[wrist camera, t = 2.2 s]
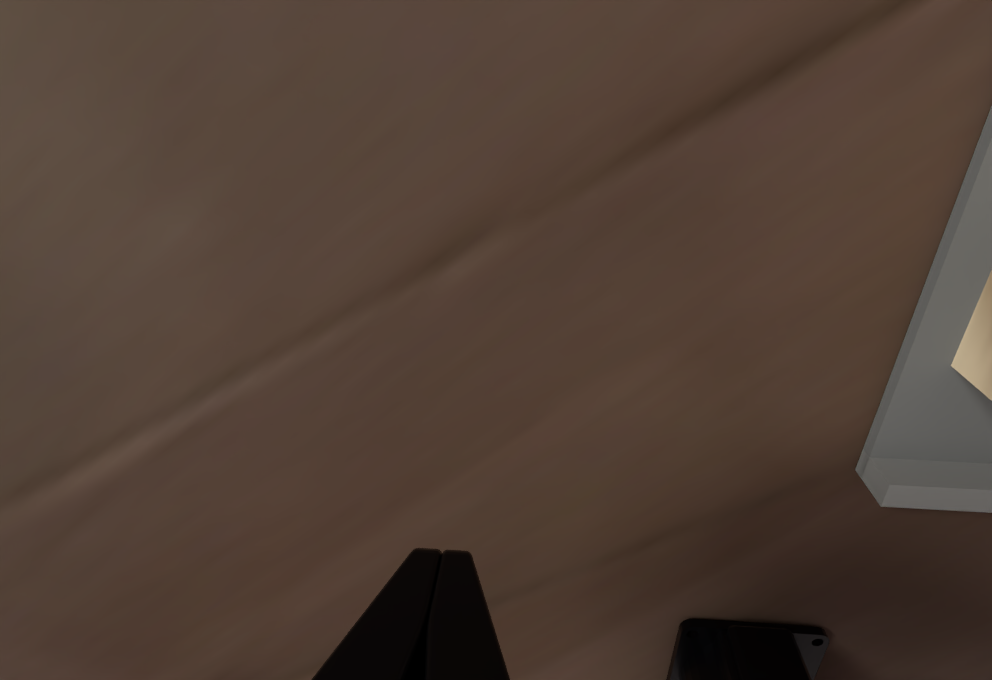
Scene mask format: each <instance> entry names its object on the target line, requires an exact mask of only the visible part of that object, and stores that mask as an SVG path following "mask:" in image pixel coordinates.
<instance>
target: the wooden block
mask: <svg viewBox="0 0 992 680" xmlns="http://www.w3.org/2000/svg"><path fill="white" fill-rule="evenodd" d="M951 366H952V367H953V368H954V369H955V370H956V371H958V372H959V373H960V374H961V375H962V376H963V377H965V378H966V379H967V380H968V381H969V382H970V383H972V384H973V385H974V386H975V387H976V388H977V389H979V390H980V391H981V392H982V393H983V394H984V395H986V396H987V397H988V398H989V399H990V400H991V401H992V270H991V272H990V275H989V277H988V280H987V282H986V284H985V287H984V289H983V291H982V294H981V296H980V298H979V301H978V303H977V305H976V308H975V310H974V313H973V315H972V317H971V320H970V322H969V324H968V327H967V329H966V331H965V334H964V336H963V338H962V341H961V343H960V345H959V348H958V350H957V353H956V355H955V357H954V360H953V362H952V364H951Z"/></svg>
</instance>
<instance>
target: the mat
mask: <svg viewBox="0 0 992 680" xmlns="http://www.w3.org/2000/svg"><path fill="white" fill-rule="evenodd" d="M991 270H992V106H991V109H990V112H989V114H988V117H987V120H986V122H985V125H984V128H983V130H982V133H981V136H980V138H979V141H978V144H977V146H976V149H975V152H974V154H973V157H972V160H971V162H970V165H969V168H968V170H967V173H966V176H965V178H964V181H963V184H962V186H961V189H960V192H959V194H958V197H957V200H956V202H955V205H954V208H953V210H952V213H951V216H950V218H949V221H948V224H947V226H946V229H945V232H944V234H943V237H942V240H941V242H940V245H939V248H938V250H937V253H936V256H935V258H934V261H933V264H932V266H931V269H930V272H929V274H928V277H927V280H926V282H925V285H924V288H923V290H922V293H921V296H920V298H919V301H918V304H917V306H916V309H915V312H914V314H913V317H912V320H911V322H910V325H909V328H908V330H907V333H906V336H905V338H904V341H903V344H902V346H901V349H900V352H899V354H898V357H897V360H896V362H895V365H894V368H893V370H892V373H891V376H890V378H889V381H888V384H887V386H886V389H885V392H884V394H883V397H882V400H881V402H880V405H879V408H878V410H877V413H876V416H875V418H874V421H873V424H872V426H871V429H870V432H869V434H868V437H867V440H866V442H865V445H864V448H863V450H862V453H861V456H860V458H859V461H858V464H857V466H856V469H855V470H856V472H857V473H858V474H859V476H860V477H861V479H862V480H863V482H864V483H865V485H866V486H867V487H868V489H869V490H870V492H871V493H872V495H873V496H874V498H875V499H876V500H877V502H878V503H879V505H880V506H881V507H898V508H916V509H934V510H952V511H970V512H987V513H992V401H991V400H990V399H989V398H988V397H987V396H986V395H984V394H983V393H982V392H981V391H980V390H979V389H977V388H976V387H975V386H974V385H973V384H972V383H970V382H969V381H968V380H967V379H966V378H965V377H963V376H962V375H961V374H960V373H959V372H958V371H956V370H955V369H954V368H953V367H952V366H951V364H952V362H953V360H954V357H955V355H956V353H957V350H958V348H959V345H960V343H961V341H962V338H963V336H964V334H965V331H966V329H967V327H968V324H969V322H970V320H971V317H972V315H973V313H974V310H975V308H976V305H977V303H978V301H979V298H980V296H981V294H982V291H983V289H984V287H985V284H986V282H987V280H988V277H989V275H990V272H991Z"/></svg>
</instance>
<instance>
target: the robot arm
mask: <svg viewBox="0 0 992 680" xmlns="http://www.w3.org/2000/svg"><path fill="white" fill-rule="evenodd" d="M828 644H829V639H828V636H827V634H826V632H825V630H824V629H822V628H819V627H808V626H792V625H777V624H761V623H746V622H730V621H714V620H699V619H688V620H685V621H683V622H682V623H681V624H680V626H679V630H678V634H677V638H676V642H675V646H674V650H673V655H672V659H671V663H670V667H669V671H668V675H667V679H666V680H814V678H815V675H816V673H817V670H818V668H819V666H820V663H821V661H822V659H823V656H824V654H825V651H826V649H827V647H828ZM312 680H510V678H509V675H508V672H507V668H506V665H505V662H504V659H503V655H502V652H501V649H500V646H499V642H498V639H497V636H496V632H495V629H494V626H493V623H492V619H491V616H490V613H489V610H488V606H487V603H486V600H485V597H484V593H483V590H482V587H481V584H480V580H479V577H478V574H477V571H476V567H475V564H474V561H473V558H472V555H471V553H470V552H468V551H460V550H445V551H444V552H443V553H442V552H441V551H440V550H438V549H427V548H416V549H414V550H413V551H412V552H411V553H410V554H409V555H408V557H407V558H406V559H405V561H404V562H403V563H402V564H401V566H400V567H399V568H398V569H397V571H396V572H395V573H394V575H393V576H392V577H391V578H390V580H389V581H388V582H387V584H386V585H385V586H384V587H383V589H382V590H381V591H380V593H379V594H378V595H377V596H376V598H375V599H374V600H373V602H372V603H371V604H370V605H369V607H368V608H367V609H366V611H365V612H364V613H363V614H362V616H361V617H360V618H359V619H358V621H357V622H356V623H355V625H354V626H353V627H352V628H351V630H350V631H349V632H348V634H347V635H346V636H345V637H344V639H343V640H342V641H341V643H340V644H339V645H338V646H337V648H336V649H335V650H334V652H333V653H332V654H331V655H330V657H329V658H328V659H327V660H326V662H325V663H324V664H323V666H322V667H321V668H320V669H319V671H318V672H317V673H316V675H315V676H314V677H313V678H312Z"/></svg>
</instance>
